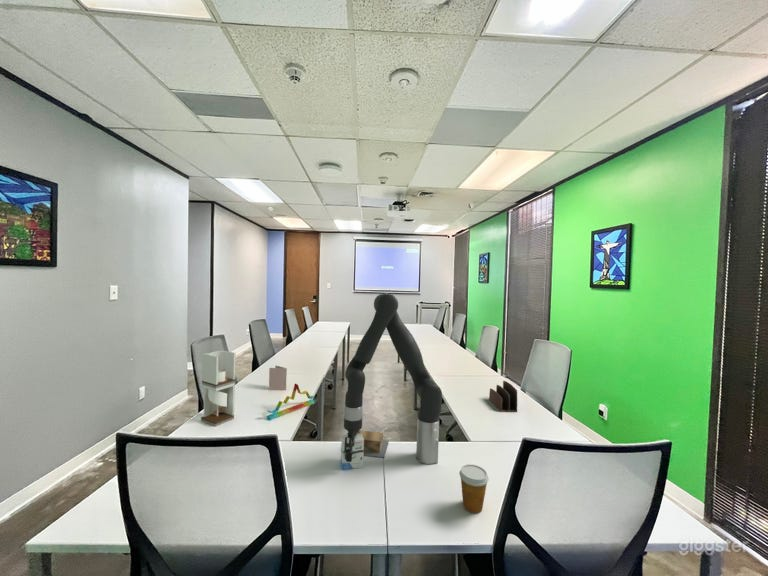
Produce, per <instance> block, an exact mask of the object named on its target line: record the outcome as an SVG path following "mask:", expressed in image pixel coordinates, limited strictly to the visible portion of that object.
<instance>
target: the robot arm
mask: <svg viewBox="0 0 768 576" xmlns="http://www.w3.org/2000/svg"><path fill="white" fill-rule="evenodd" d="M373 308H374V311H375V312H374V316H373V319H372V321H371V323H370V325H369V327H368V329H367V330H366V332H365V333H364V335H363V337H362V338H361V340H360V342H359V344H358V347H357V348H356V352H355V354H354V356H353V357H352V359H350V362H349V363H348V365H347V367H346V369H345V373H344V376H345V379H346V380H347V390H346V392H345V397H344V411H343V412H344V413H343V428H344V430H346V431H347V433H346V435H347V436H346V437H345V449H344V453H346V461H347V462H351V461H352V450H353V447H354V446H355V440H356V438H357V436H358V434H359V431H360V430H361V429H362V428H363V416H364V415H363V414H364V412H363V411H364V410H363V400H364V399H363V398H364V397H363V396H364V395H363V394H364V390H365V385H366V375H365V373H364V369H365V367H366V366H367V365H368V364H370V363H371V362H372V359H373V357H374V355H375V352H376V350H377V348H378V345H379V343H380V341H381V338H382V337H383V335H384V332H385V331H386V330H387V333H388V335H389V338H390V340H391V342H392V344H393V348H394V349H395V351H396V353H397V355H398V356H399V357H398V358H399V359H400V361H401V363H402V364H403V366H404V367H405V368H406V370H407V372H408V374H409V375H410V378H411V380H412V382H413V385H414V387H415V388H414V389H416V393H417V396H418V397H419V398H420V401H419V403H420V404H419V410H418V411H417V418H416V419H417V425H416V427H417V428H416V446H415V447H416V450H415V457H416V460H417V461H418V462H420V463H421V464H427V465H433V464H438V463H439V445H440V444H439V441H440V440H439V439H440V438H439V434H440V433H439V431H440V416H441V414H442V405H443V392H442V389H441V388H440V386H439V385H438V384H437V383H436V382H435V381H434V380H433V378H432V376H431V375H430V374H429V372H428V370H427V368H426V366H425V364H424V359H423V356H422V352H421V349H420V348H419V345H418V344H417V341H416V339H415V338H414V335H413V334H412V333H411V331H410V330H409V329H408V328H407V326H406V325H405V323H404V322H403V320H402V319H401V318H400V315H399V312H398V309H399V301H398V299H397V297H396V296H395V295H393V294H390V293H380V294H378V295H377V296H376V297H375V298H374V301H373ZM352 442H353V444H352ZM348 447H349V449H348Z"/></svg>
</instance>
